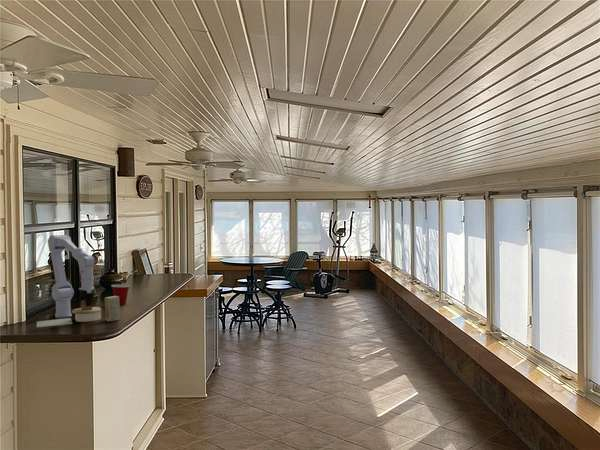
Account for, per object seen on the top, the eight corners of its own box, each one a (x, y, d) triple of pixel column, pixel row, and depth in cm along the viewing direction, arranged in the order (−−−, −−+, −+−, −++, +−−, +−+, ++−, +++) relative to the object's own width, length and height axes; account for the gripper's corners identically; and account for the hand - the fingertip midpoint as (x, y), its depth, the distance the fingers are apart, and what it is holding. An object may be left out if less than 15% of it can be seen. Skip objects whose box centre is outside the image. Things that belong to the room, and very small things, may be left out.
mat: (36, 322, 269) (36, 321, 269) (70, 318, 277) (70, 318, 277) (36, 328, 255) (36, 327, 255) (72, 324, 262) (72, 323, 262)
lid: (71, 310, 276) (70, 300, 275) (99, 307, 282) (99, 297, 282) (73, 315, 263) (73, 304, 263) (103, 312, 270) (102, 301, 270)
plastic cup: (131, 305, 316) (130, 285, 315) (112, 306, 312) (111, 286, 311) (129, 302, 326) (129, 283, 325) (111, 303, 322) (110, 284, 321)
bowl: (75, 319, 276) (74, 310, 276) (99, 316, 281) (99, 308, 281) (76, 323, 265) (76, 314, 265) (101, 320, 270) (101, 311, 270)
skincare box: (115, 318, 275) (115, 295, 274) (120, 319, 272) (119, 296, 272) (104, 320, 270) (104, 297, 269) (109, 321, 267) (108, 297, 267)
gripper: (77, 278, 277) (78, 303, 277) (80, 281, 264) (81, 308, 265) (91, 277, 280) (92, 302, 281) (95, 280, 268) (95, 306, 268)
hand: (87, 305), depth 273 cm, fingers open, 7 cm apart
